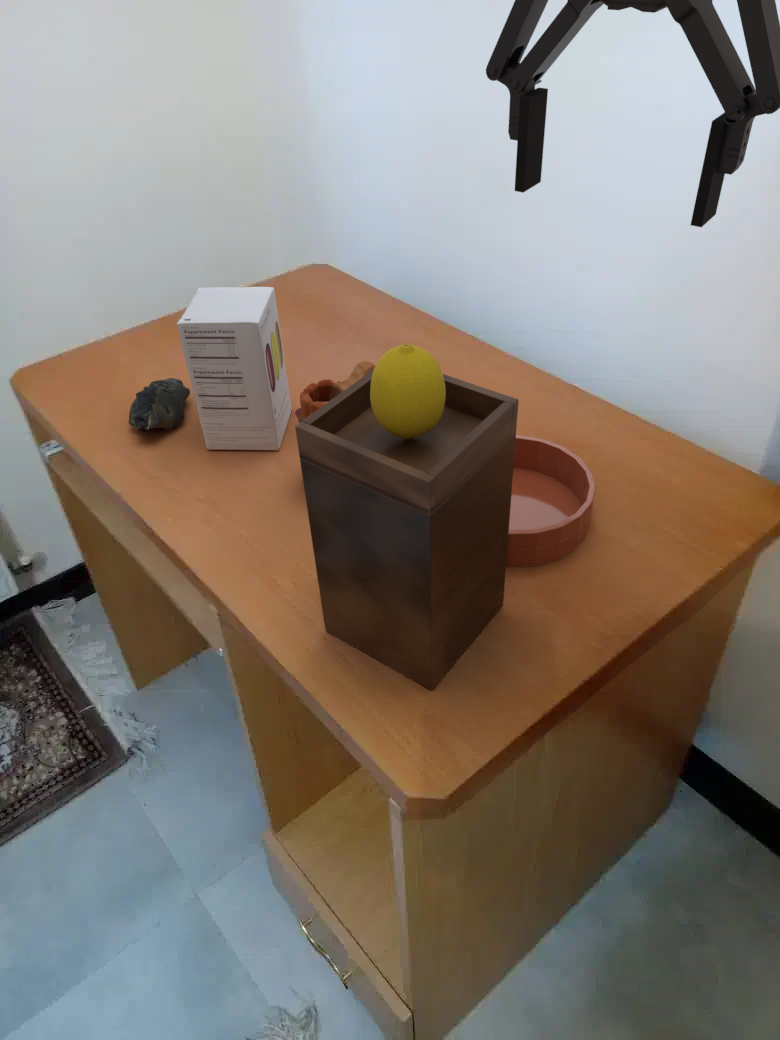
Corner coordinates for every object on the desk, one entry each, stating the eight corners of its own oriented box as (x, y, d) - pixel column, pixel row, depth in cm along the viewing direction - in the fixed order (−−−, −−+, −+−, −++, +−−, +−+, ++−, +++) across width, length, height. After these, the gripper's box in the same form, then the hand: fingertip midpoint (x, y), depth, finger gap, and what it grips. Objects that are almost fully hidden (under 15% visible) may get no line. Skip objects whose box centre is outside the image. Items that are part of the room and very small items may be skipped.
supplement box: (280, 452, 95) (258, 323, 84) (205, 451, 96) (173, 324, 84) (293, 408, 102) (275, 284, 91) (223, 407, 103) (196, 285, 92)
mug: (328, 511, 86) (316, 413, 78) (289, 484, 90) (274, 388, 82) (409, 461, 92) (406, 365, 84) (369, 437, 96) (363, 344, 88)
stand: (503, 605, 75) (516, 431, 62) (431, 691, 68) (429, 516, 55) (400, 556, 80) (392, 387, 67) (325, 631, 73) (299, 458, 60)
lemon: (364, 426, 62) (357, 334, 57) (431, 412, 63) (430, 320, 58) (385, 466, 58) (380, 371, 53) (456, 450, 59) (457, 355, 54)
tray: (516, 431, 62) (518, 399, 60) (429, 516, 55) (429, 482, 53) (392, 387, 67) (391, 356, 65) (299, 458, 60) (294, 426, 58)
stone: (201, 388, 107) (193, 352, 103) (177, 444, 97) (167, 407, 93) (152, 388, 107) (142, 353, 104) (122, 445, 97) (111, 408, 94)
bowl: (615, 499, 86) (621, 466, 83) (543, 589, 76) (547, 556, 73) (486, 451, 93) (487, 419, 90) (406, 527, 84) (405, 494, 81)
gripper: (934, -207, 40) (805, 217, 54) (502, -182, 51) (489, 161, 65) (901, -205, 35) (771, 256, 49) (437, -178, 47) (438, 188, 61)
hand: (610, 202), depth 57 cm, fingers open, 13 cm apart
